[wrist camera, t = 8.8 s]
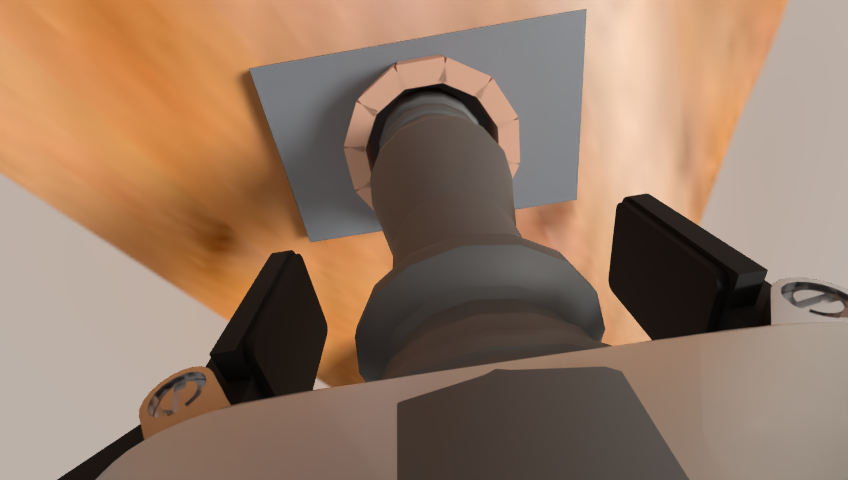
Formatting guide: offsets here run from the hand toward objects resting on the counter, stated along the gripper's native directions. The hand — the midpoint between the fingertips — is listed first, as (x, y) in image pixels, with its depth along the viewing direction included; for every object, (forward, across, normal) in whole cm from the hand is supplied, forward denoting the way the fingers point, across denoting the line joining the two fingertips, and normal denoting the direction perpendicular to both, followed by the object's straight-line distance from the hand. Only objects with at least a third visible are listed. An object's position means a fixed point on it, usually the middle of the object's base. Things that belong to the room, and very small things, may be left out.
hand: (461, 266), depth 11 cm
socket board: (+17, 0, 0) cm, 17 cm away
